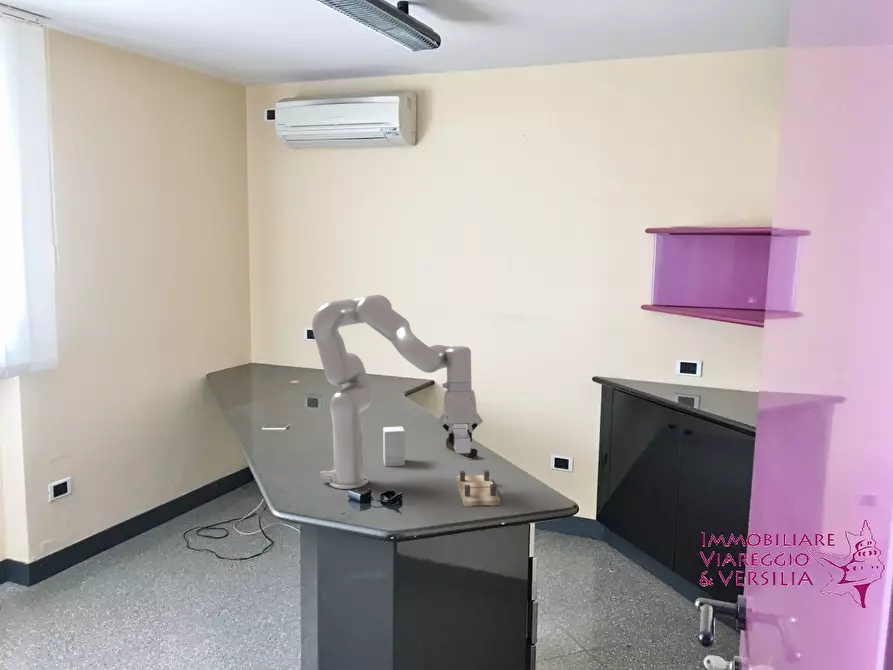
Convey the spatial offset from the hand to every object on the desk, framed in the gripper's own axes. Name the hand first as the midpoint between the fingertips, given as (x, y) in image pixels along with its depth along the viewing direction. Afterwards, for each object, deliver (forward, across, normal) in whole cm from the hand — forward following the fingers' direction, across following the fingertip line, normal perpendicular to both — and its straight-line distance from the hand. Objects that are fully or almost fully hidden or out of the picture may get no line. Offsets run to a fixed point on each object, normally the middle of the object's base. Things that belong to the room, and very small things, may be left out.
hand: (460, 443), depth 210 cm
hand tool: (+16, +3, +45) cm, 48 cm away
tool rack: (+16, +5, +2) cm, 17 cm away
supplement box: (+16, -21, +34) cm, 43 cm away
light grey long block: (0, 0, 0) cm, 0 cm away
